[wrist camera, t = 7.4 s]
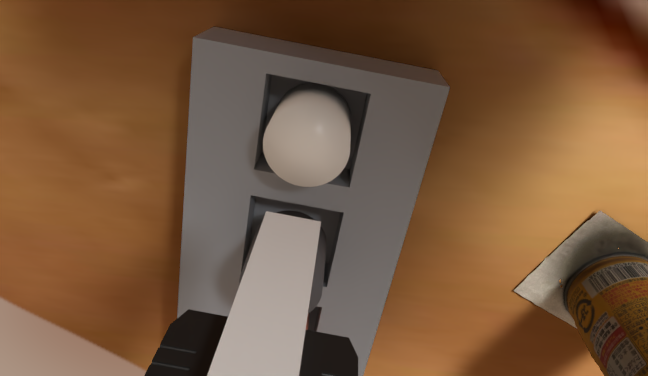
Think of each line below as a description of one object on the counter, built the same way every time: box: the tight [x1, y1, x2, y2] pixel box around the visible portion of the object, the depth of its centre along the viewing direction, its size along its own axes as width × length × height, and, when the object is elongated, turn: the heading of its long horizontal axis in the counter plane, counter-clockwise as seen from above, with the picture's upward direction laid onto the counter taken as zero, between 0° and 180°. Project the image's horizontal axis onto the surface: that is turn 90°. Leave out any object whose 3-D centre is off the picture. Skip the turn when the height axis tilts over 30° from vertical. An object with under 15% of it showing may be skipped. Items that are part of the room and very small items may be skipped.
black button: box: [239, 211, 327, 313], centre depth 25 cm, size 4×4×4 cm
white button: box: [263, 83, 351, 187], centre depth 24 cm, size 4×4×4 cm
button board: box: [177, 27, 450, 376], centre depth 28 cm, size 20×12×4 cm, turn 170°
